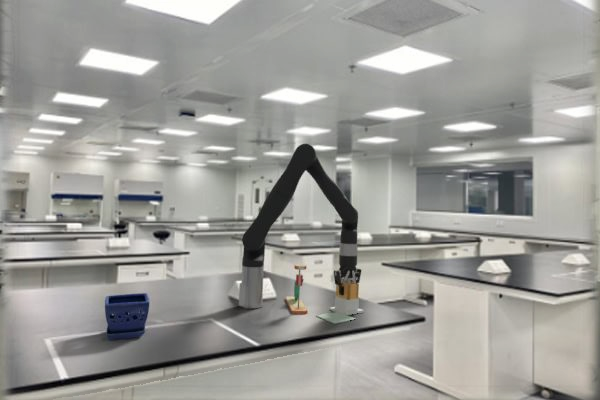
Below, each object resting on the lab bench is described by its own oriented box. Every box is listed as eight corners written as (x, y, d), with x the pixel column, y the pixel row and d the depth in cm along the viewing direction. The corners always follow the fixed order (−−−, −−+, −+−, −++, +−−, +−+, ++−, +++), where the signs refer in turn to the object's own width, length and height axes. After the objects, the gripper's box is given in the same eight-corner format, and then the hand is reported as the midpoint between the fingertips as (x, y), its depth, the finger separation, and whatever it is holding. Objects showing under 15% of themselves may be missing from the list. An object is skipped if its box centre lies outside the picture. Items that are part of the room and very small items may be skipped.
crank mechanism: (307, 314, 162) (309, 266, 162) (291, 314, 161) (293, 266, 162) (299, 299, 187) (300, 258, 187) (285, 299, 186) (286, 257, 186)
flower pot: (102, 343, 122) (103, 304, 123) (104, 330, 135) (105, 294, 135) (148, 338, 128) (150, 301, 128) (146, 326, 140) (148, 292, 140)
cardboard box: (348, 299, 164) (349, 285, 164) (335, 295, 170) (336, 281, 170) (358, 298, 167) (358, 283, 167) (345, 294, 173) (345, 280, 173)
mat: (334, 323, 150) (334, 322, 150) (316, 316, 159) (316, 315, 159) (355, 319, 157) (355, 318, 157) (337, 312, 166) (337, 311, 166)
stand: (345, 315, 162) (346, 279, 162) (329, 309, 170) (330, 275, 170) (363, 312, 167) (364, 277, 167) (347, 306, 176) (348, 273, 176)
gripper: (354, 252, 176) (353, 290, 176) (329, 253, 168) (328, 294, 167) (366, 254, 170) (365, 294, 170) (341, 256, 161) (339, 298, 161)
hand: (346, 294), depth 169 cm, fingers closed on cardboard box, 5 cm apart
